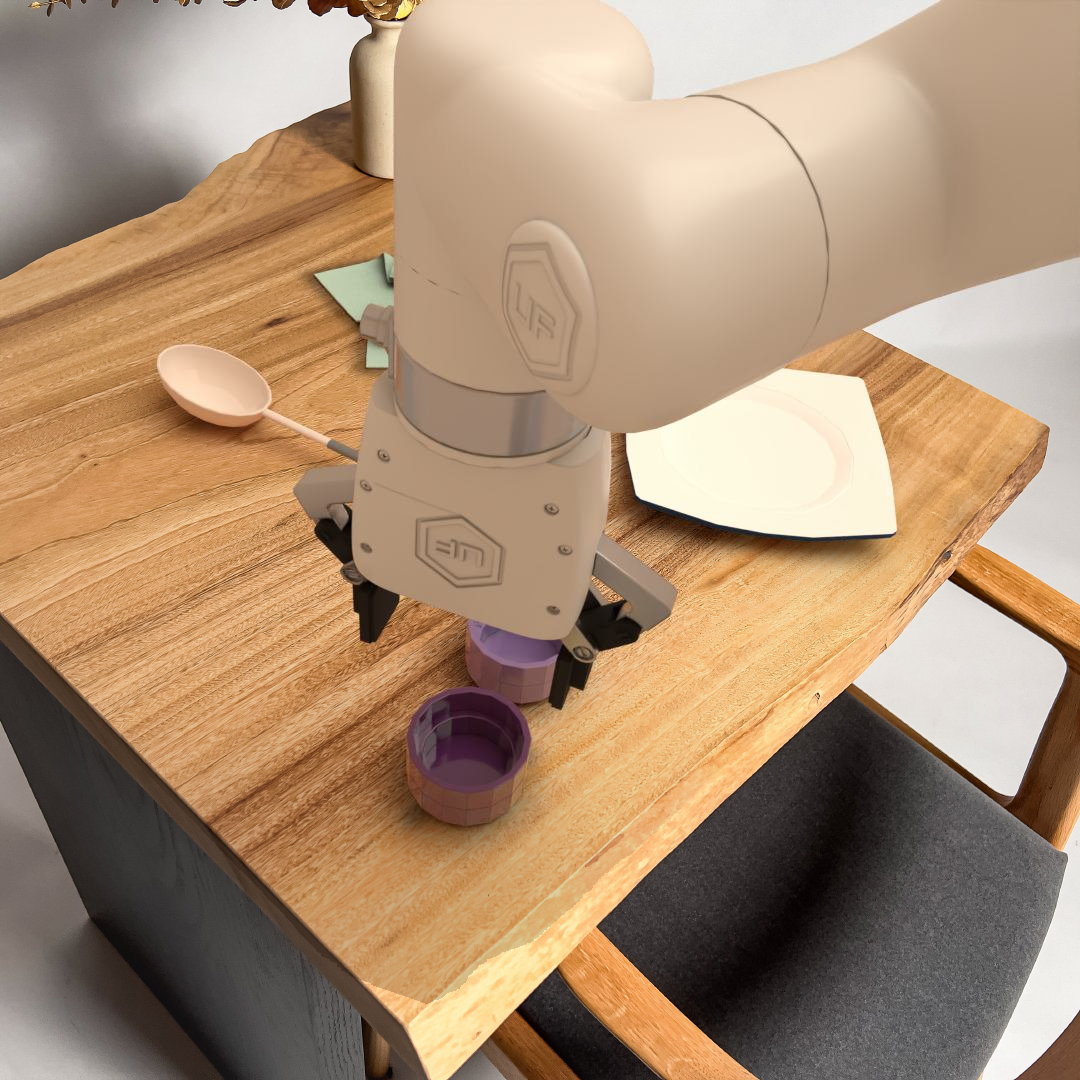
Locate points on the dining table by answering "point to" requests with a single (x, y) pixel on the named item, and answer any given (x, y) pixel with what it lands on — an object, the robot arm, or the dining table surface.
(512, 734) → the plum bowl
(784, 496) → the plate
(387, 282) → the cloth
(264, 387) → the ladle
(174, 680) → the dining table surface
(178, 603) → the dining table surface
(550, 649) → the lavender bowl
